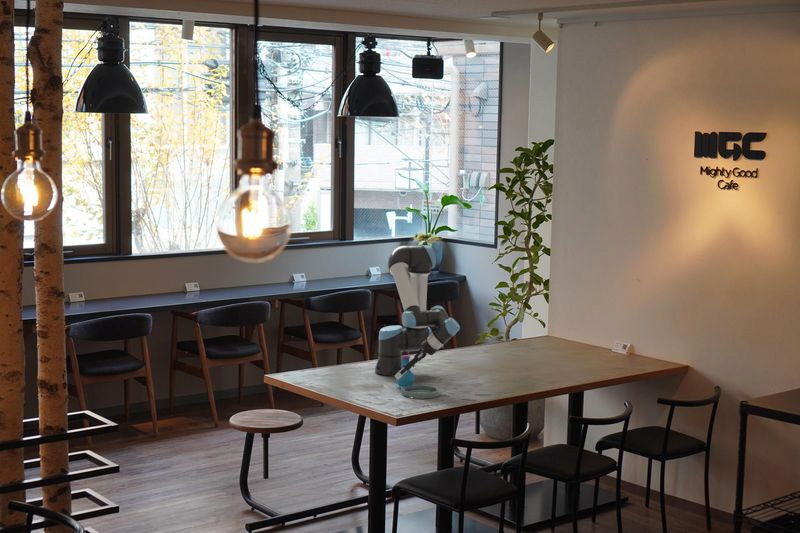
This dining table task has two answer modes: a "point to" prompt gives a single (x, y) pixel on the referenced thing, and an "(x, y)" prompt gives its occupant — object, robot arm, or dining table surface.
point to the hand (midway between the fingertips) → (398, 375)
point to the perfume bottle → (408, 376)
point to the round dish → (420, 391)
